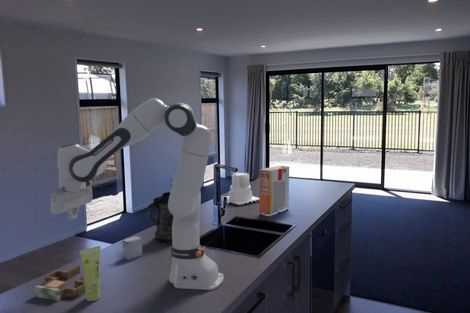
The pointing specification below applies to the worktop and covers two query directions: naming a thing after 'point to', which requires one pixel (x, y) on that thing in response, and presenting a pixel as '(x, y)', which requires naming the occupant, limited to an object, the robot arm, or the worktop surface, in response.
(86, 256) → the tube
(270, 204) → the pasta box
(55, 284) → the terracotta block
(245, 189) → the recessed light fixture
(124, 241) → the medicine box
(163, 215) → the beer stein
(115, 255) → the worktop surface
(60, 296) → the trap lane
